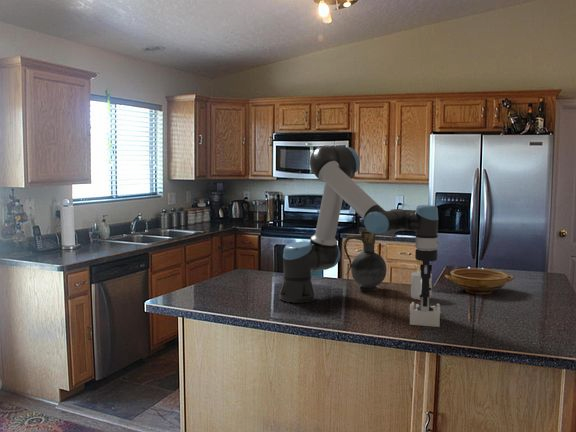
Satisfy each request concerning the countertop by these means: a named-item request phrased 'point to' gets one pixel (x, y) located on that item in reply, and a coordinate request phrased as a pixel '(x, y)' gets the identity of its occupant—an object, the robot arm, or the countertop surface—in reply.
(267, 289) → the countertop surface
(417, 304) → the clip
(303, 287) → the robot arm
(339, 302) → the countertop surface
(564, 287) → the countertop surface
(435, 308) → the clip
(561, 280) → the countertop surface
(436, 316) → the end holder
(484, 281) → the ceramic bowl
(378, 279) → the pitcher
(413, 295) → the mug
